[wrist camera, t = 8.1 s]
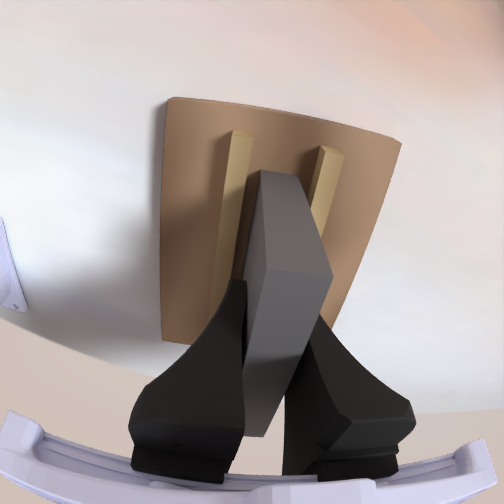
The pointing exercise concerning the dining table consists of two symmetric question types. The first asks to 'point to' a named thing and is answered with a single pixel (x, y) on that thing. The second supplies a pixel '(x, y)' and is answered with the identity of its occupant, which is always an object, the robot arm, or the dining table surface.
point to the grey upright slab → (279, 294)
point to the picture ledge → (243, 198)
